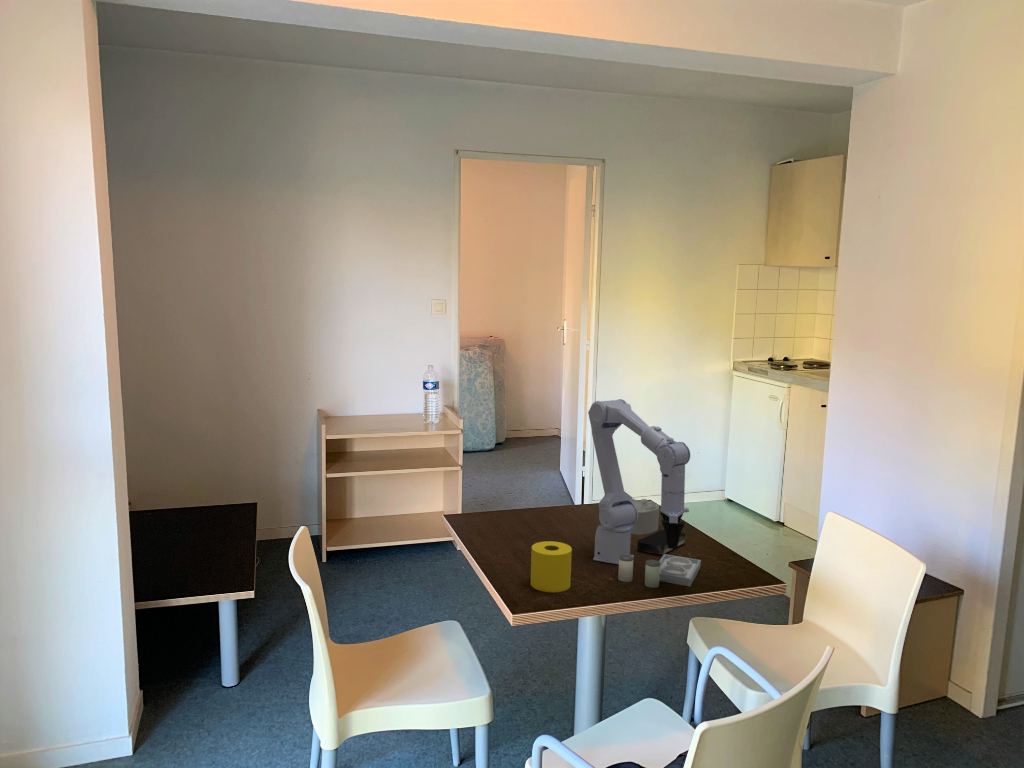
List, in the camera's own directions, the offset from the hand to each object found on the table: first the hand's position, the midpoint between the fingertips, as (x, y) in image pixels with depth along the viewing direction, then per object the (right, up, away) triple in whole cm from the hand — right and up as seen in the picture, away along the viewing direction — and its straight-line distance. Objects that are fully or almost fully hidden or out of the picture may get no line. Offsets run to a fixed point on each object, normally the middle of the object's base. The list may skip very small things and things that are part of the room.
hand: (671, 543), depth 190 cm
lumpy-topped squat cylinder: (0, -5, +46) cm, 46 cm away
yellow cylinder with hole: (-31, -10, -2) cm, 32 cm away
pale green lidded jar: (-5, -10, 0) cm, 12 cm away
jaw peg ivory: (-11, -10, +3) cm, 15 cm away
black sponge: (+3, -8, +28) cm, 30 cm away
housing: (+3, -10, +8) cm, 13 cm away
